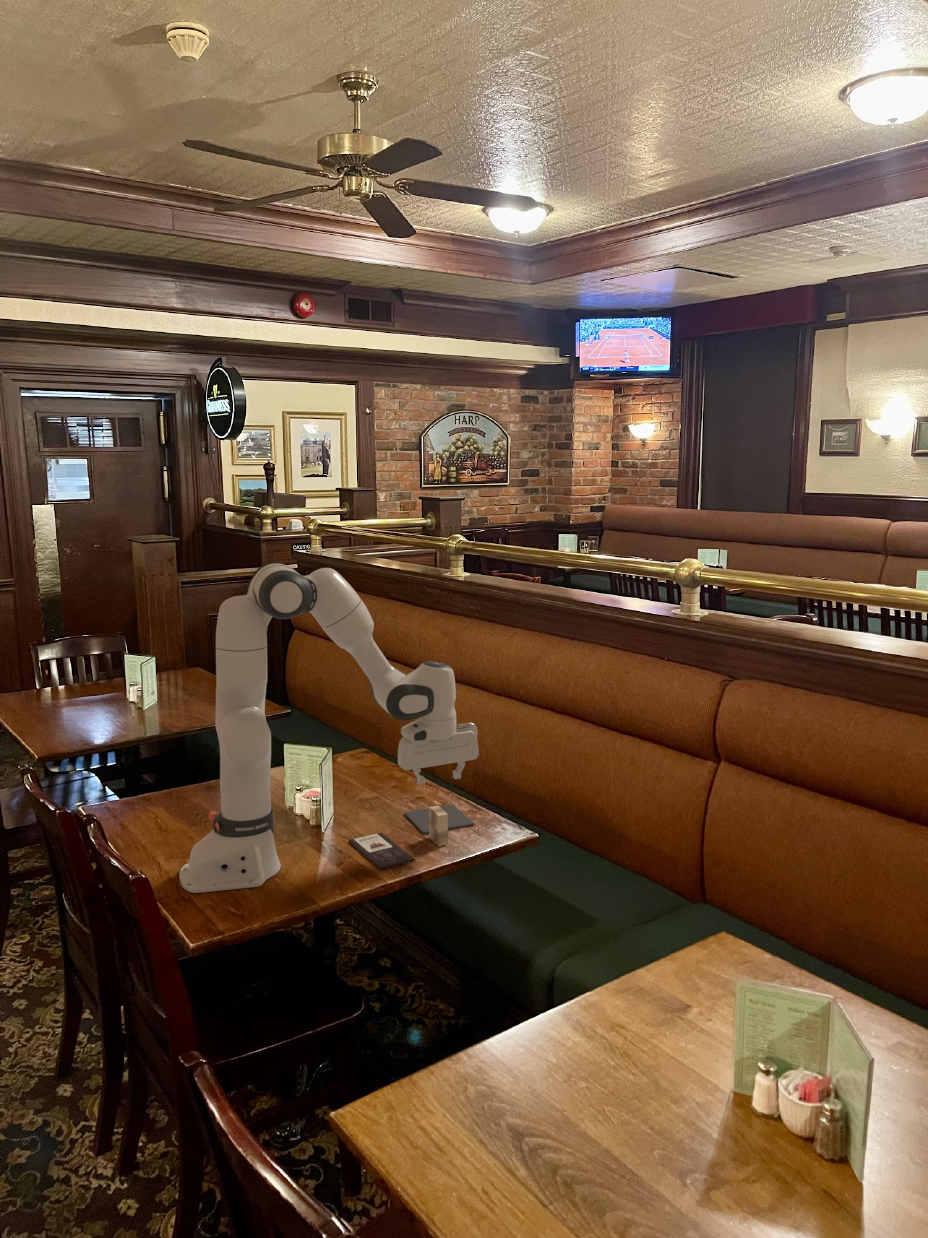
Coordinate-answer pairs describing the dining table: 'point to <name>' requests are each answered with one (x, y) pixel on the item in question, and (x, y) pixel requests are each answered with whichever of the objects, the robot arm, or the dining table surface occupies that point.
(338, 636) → the robot arm
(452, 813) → the bar mat
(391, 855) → the chocolate bar
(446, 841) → the beech slab
